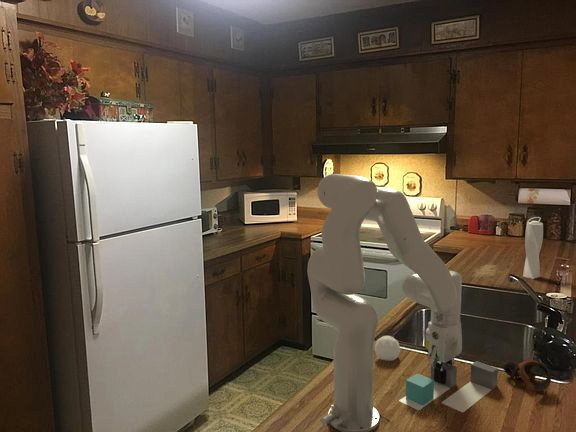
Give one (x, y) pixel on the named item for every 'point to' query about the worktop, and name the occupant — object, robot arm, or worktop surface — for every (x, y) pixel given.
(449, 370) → the strip with cube
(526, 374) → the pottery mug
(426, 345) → the supplement bottle
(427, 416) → the worktop surface
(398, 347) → the ball
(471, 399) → the empty strip
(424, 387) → the cube
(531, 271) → the skyscraper
